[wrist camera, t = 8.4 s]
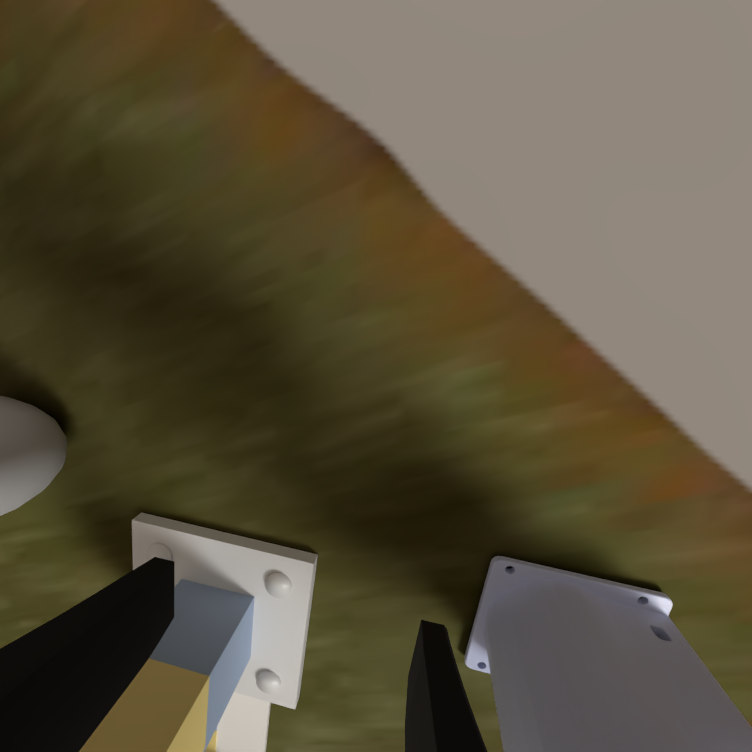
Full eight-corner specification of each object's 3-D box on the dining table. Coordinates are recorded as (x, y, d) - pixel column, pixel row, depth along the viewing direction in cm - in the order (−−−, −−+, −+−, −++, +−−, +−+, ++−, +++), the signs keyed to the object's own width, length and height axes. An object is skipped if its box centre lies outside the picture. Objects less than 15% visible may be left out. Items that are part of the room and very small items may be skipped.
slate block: (254, 596, 22) (206, 680, 17) (250, 657, 23) (204, 751, 19) (181, 579, 23) (115, 655, 18) (181, 638, 24) (119, 725, 19)
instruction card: (272, 688, 25) (269, 695, 25) (264, 766, 27) (261, 773, 27) (143, 652, 26) (139, 658, 26) (144, 729, 28) (140, 735, 28)
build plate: (317, 554, 22) (312, 567, 21) (299, 696, 25) (293, 714, 24) (141, 512, 23) (127, 522, 22) (143, 652, 26) (131, 667, 25)
